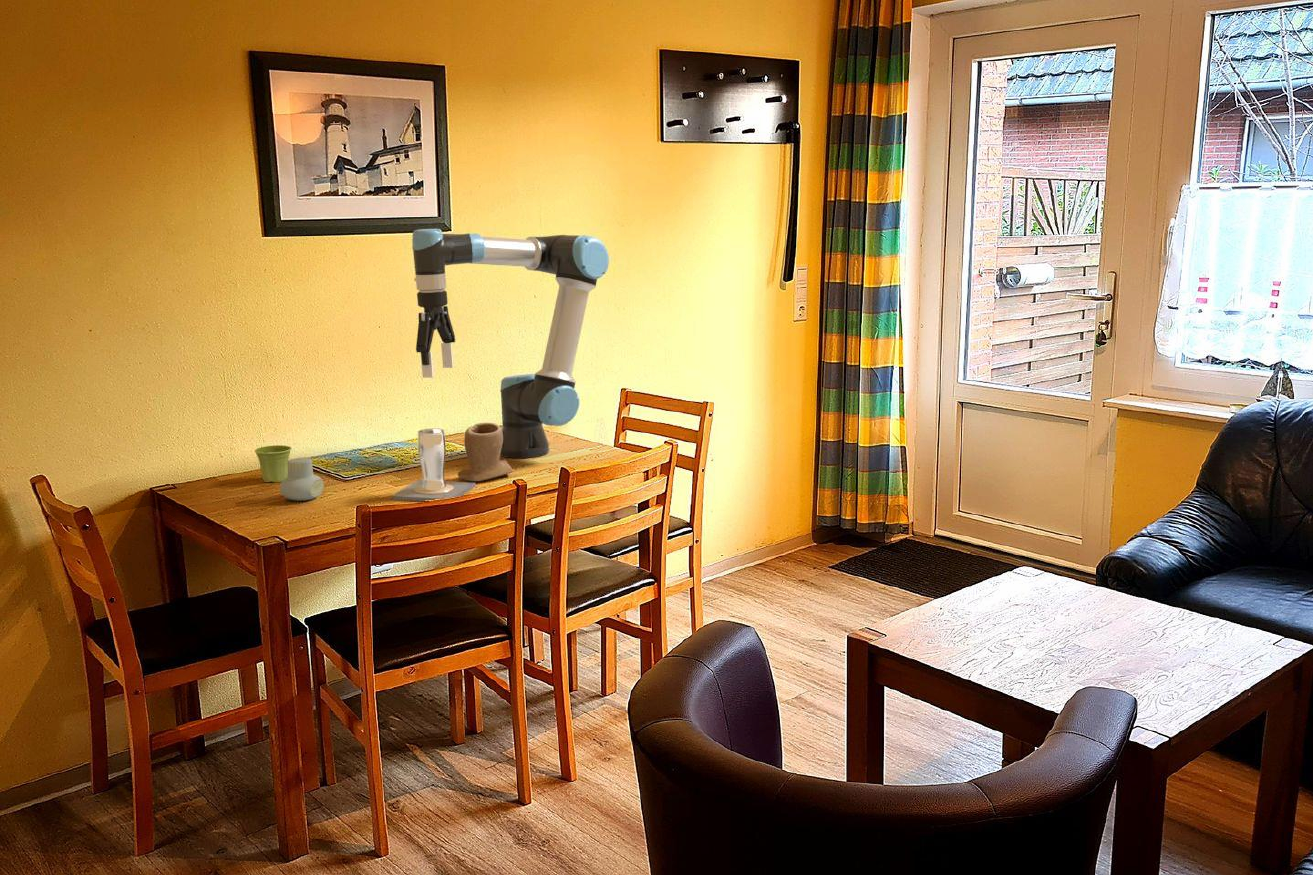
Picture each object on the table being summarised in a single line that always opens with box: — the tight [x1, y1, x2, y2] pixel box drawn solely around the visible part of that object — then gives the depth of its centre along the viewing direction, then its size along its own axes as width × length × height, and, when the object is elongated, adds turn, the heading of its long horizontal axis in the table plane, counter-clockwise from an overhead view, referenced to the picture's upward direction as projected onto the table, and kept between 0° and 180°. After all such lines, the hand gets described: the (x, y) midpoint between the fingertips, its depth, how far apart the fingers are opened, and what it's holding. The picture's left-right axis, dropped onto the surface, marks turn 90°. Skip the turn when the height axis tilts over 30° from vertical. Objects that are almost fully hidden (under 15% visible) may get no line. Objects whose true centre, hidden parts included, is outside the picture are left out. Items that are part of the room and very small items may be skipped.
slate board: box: [390, 479, 476, 502], centre depth 289 cm, size 16×16×1 cm
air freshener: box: [279, 457, 325, 502], centre depth 285 cm, size 11×8×10 cm
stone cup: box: [457, 422, 514, 482], centre depth 302 cm, size 15×12×15 cm
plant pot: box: [254, 444, 293, 483], centre depth 303 cm, size 9×9×9 cm
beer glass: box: [417, 427, 447, 491], centre depth 288 cm, size 7×7×15 cm
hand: (438, 372), depth 293 cm, fingers open, 13 cm apart
